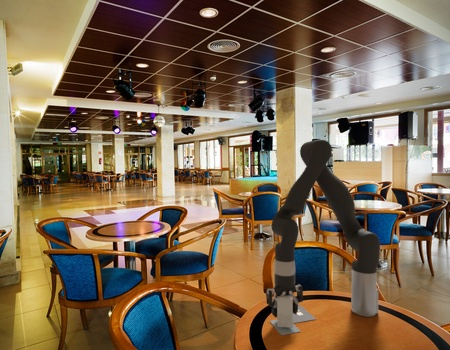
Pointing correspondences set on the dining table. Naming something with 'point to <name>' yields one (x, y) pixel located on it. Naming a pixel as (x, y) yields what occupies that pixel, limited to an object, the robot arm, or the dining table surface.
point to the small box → (285, 311)
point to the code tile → (302, 315)
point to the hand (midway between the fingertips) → (284, 314)
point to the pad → (284, 328)
